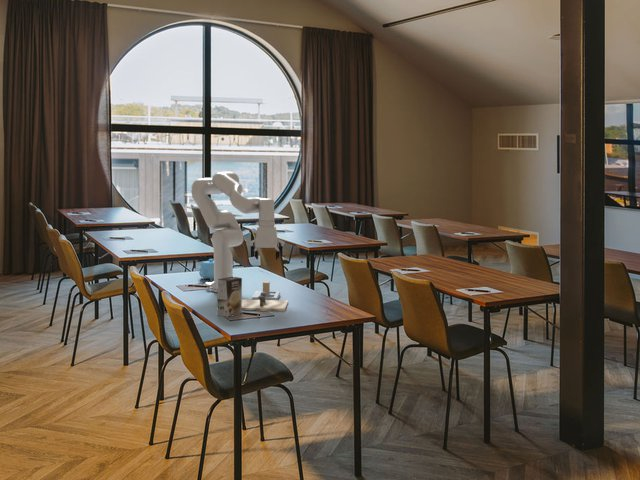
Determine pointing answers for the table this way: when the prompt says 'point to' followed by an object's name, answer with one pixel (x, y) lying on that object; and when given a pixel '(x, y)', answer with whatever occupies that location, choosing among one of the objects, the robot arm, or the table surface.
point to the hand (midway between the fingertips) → (267, 259)
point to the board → (264, 304)
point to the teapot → (207, 269)
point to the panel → (272, 295)
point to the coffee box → (229, 296)
